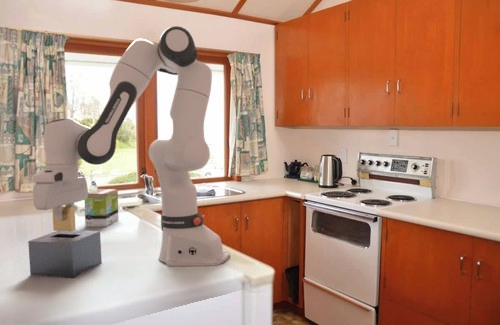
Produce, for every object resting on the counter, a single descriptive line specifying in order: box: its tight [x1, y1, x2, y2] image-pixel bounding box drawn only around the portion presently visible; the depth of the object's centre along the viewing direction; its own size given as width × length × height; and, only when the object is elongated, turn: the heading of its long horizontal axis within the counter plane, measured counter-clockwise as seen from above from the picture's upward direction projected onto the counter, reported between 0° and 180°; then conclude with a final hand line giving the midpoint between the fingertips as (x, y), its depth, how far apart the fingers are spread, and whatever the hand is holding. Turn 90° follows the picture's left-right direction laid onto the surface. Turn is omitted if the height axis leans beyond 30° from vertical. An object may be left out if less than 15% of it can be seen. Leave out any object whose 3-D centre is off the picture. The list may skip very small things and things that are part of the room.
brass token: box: [51, 205, 77, 232], centre depth 124 cm, size 6×2×7 cm, turn 77°
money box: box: [27, 229, 102, 279], centre depth 125 cm, size 14×14×10 cm
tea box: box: [84, 188, 119, 228], centre depth 187 cm, size 15×10×15 cm
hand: (64, 219), depth 124 cm, fingers closed on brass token, 2 cm apart
